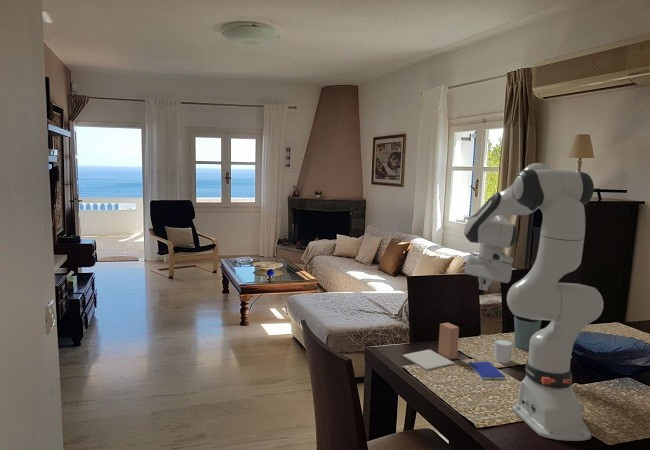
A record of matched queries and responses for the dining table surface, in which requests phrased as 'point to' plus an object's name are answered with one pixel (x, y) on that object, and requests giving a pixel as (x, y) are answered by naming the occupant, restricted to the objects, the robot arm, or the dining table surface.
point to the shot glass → (503, 350)
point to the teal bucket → (525, 331)
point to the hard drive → (486, 370)
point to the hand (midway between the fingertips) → (483, 290)
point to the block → (448, 340)
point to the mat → (428, 359)
